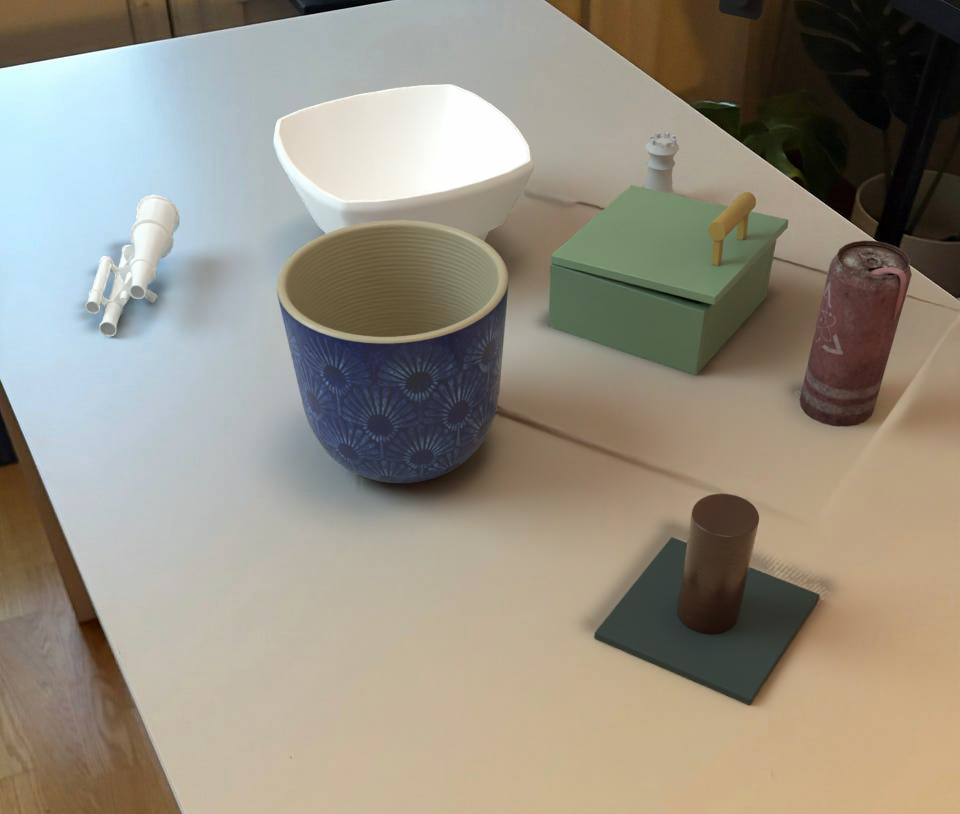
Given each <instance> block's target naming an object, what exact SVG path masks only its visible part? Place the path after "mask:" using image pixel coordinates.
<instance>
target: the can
mask: <svg viewBox="0 0 960 814" xmlns="http://www.w3.org/2000/svg"><path fill="white" fill-rule="evenodd" d="M910 265H911V260H910V257H909V256H908V255H907V253H906V252H905V251H904V250H902V249H901V248H899V247H898V246H896V245H892V244H889V243H887V242H883V241H878V240H858V241H852V242H850V243H847V244H844V245H843V246H841V248H839V249H838V251H837V253H836V255H834V257H833V258H832V259H831V261H830V264H829V267H828V271H827V275H826V281H825V285H824V289H823V293H822V298H821V302H820V307H819V311H818V316H817V321H816V325H815V331H814V334H813V338H812V343H811V346H810V347H811V348H810V353H809V356H808V360H807V365H806V370H805V374H804V379H803V384H802V388H801V391H800V392H801V393H800V397H799V403H800V404H799V405H800V406H799V407H800V408H801V409H802V411H803V412H804V414H806V415H807V416H808V417H809V418H811V419H812V420H815V421H816V422H818V423H821V424H823V425H828V426H831V427H845V428H846V427H853V426H858V425H860V424H863V423H866V422H867V421H868V420H869V419H870V418H871V417H872V416H873V413H874V411H875V407H876V404H877V400H878V396H879V393H880V390H881V386H882V383H883V378H884V375H885V371H886V369H887V365H888V361H889V357H890V353H891V350H892V348H893V347H892V346H893V343H894V339H895V336H896V333H897V328H898V325H899V321H900V319H901V314H902V311H903V308H904V304H905V300H906V297H907V294H908V290H909V287H910V282H911V279H912V275H913V274H912V270H911V266H910Z"/></svg>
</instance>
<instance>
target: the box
mask: <svg viewBox="0 0 960 814" xmlns="http://www.w3.org/2000/svg"><path fill="white" fill-rule="evenodd" d="M776 244H777V240H776V241H775V242H774V243H773V244H772V245H771V246H770V247H769V248H768V249H767V250H766V251H765V252H764V253H763V254H762V256H761V257H760V258H759V259H758V260H757V261H756V262H755V263H754V264H753V265H752V266H751V267H750V268H749V269H748V270H747V271H746V273H745V274H744V275H743V276H742V277H741V278H740V279H739V280H738V281H737V282H736V283H735V284H734V285H733V286H732V287H731V288H730V290H729V291H728V292H727V293H726V294H725V295H724V296H723V297H722V298H721V299H720V300H719V301H718V302H717V303H716V304H715V305H713V304H709V303H705V302H701V301H697V300H693V299H689V298H685V297H681V296H677V295H673V294H669V293H666V292H662V291H658V290H654V289H650V288H646V287H642V286H638V285H634V284H630V283H626V282H622V281H618V280H614V279H611V278H607V277H603V276H599V275H595V274H591V273H587V272H583V271H579V270H575V269H571V268H567V267H563V266H560V265H556V264H552V263H550V270H549V271H550V273H549V302H548V328H551V329H555V330H557V331H560V332H562V333H566V334H569V335H571V336H575V337H578V338H581V339H584V340H587V341H590V342H593V343H596V344H599V345H602V346H605V347H608V348H611V349H614V350H618V351H620V352H623V353H626V354H629V355H633V356H635V357H638V358H641V359H644V360H647V361H650V362H653V363H656V364H659V365H662V366H666V367H667V368H672V369H674V370H677V371H680V372H683V373H687V374H689V375H692V376H697V375H698V374H699V373H700V372H701V371H702V370H703V369H704V368H705V366H706V365H707V364H708V363H709V362H710V361H711V360H712V359H713V357H714V356H715V355H716V354H717V353H718V352H719V351H720V349H721V348H722V347H723V346H724V345H725V344H726V343H727V342H728V341H729V340H730V338H731V337H732V336H733V335H734V334H735V333H736V332H737V331H738V330H739V329H740V328H741V326H742V325H743V324H744V323H745V322H746V321H747V319H748V318H750V317H751V315H752V314H753V313H754V311H756V309H757V308H758V307H760V305H761V304H762V303H763V302H764V300H765V299H766V298H767V295H768V289H769V283H770V278H771V273H772V266H773V261H774V256H775V250H776V246H777V245H776Z"/></svg>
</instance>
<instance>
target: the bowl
mask: <svg viewBox="0 0 960 814" xmlns="http://www.w3.org/2000/svg"><path fill="white" fill-rule="evenodd" d="M272 143H273V146H274V147H273V148H274V150H275V153H276V156H277V159H278V161H279V163H280V165H281V166H282V168H283V170H284V172H285V174H286V176H287V177H288V179H289V180H290V182H291V184H292V186H293V187H294V189H295V191H296V192H297V194H298V195H299V197H300V199H301V200H302V202H303V204H304V205H305V207H306V209H307V210H308V212H309V214H310V216H311V217H312V219H313V220H314V222H315V224H316V225H317V226H318V227H319V228H320V229H321V231H323V232H324V234H327V233H329V232H332V231H335V230H338V229H341V228H345V227H348V226H352V225H357V224H362V223H368V222H376V221H388V220H412V221H424V222H431V223H437V224H442V225H446V226H450V227H453V228H457V229H460V230H462V231H465V232H467V233H470V234H472V235H474V236H476V237H478V238H480V239H481V240H483V241H484V242H486V239H487V237H488V235H489V232H492V231H493V230H495V229H496V228H499V227H500V226H502V225H504V224H505V223H506V222H507V220H508V218H509V216H510V214H511V213H512V211H513V209H514V208H515V205H516V204H517V202H518V200H519V198H520V196H521V194H522V192H523V191H524V189H525V187H526V185H527V184H528V182H529V180H530V178H531V175H533V172H534V169H535V167H534V162H533V154H532V149H531V147H530V145H529V144H528V142H527V140H526V139H525V137H524V136H523V134H522V132H521V130H519V129H518V127H517V126H516V125H515V124H514V122H513V121H512V120H511V119H510V118H509V117H508V116H507V115H506V114H504V113H503V112H502V111H501V110H499V109H498V108H497V107H495V106H494V105H493V104H492V103H490V102H488V101H487V100H486V99H484V98H482V97H481V96H480V95H477V94H476V93H474V92H473V91H470V90H467V89H465V88H462V87H460V86H457V85H455V84H451V83H450V84H449V83H446V84H418V85H410V86H402V87H393V88H388V89H381V90H376V91H370V92H364V93H358V94H354V95H350V96H349V95H348V96H344V97H341V98H336V99H332V100H329V101H325V102H321V103H317V104H314V105H311V106H307V107H304V108H301V109H299V110H296V111H294V112H291V113H288V114H286V115H284V116H281V117H280V118H278V119H277V121H276V123H275V127H274V134H273V142H272Z"/></svg>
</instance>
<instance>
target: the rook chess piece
mask: <svg viewBox="0 0 960 814" xmlns="http://www.w3.org/2000/svg"><path fill="white" fill-rule="evenodd" d="M661 135H662V133H661V131H658V132H655V133H654V134H651V135H650V139H649V141H648V142H647V144H646V145H645V151H646V152H647V153H648V155H649V157H648V159H647V161H646V165H647V173H646V178H645V183H644V185H643V188H646V189H651V190H655V191H660V192H665V193H669V194H674V195H676V192H675V191H674V189H673V171H674V169H673V168H674V167H675V165H676V161H675V160H674V157H675V155H676V154H677V153H678V151H679V150H680V146H679V144H678V143H677V136H676V135H675V134H671V132H667V131H664V135H663V136H661ZM670 135H671V136H670Z"/></svg>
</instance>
